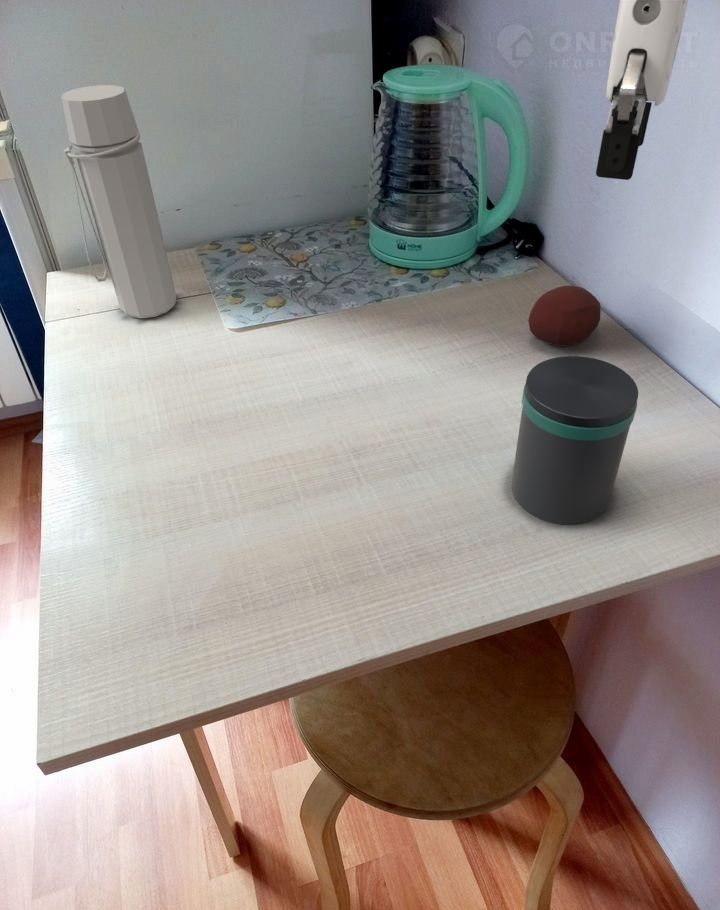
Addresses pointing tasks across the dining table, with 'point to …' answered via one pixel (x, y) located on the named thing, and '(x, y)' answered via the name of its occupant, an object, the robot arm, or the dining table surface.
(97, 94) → the water bottle
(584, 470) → the canister
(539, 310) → the potato
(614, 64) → the robot arm
